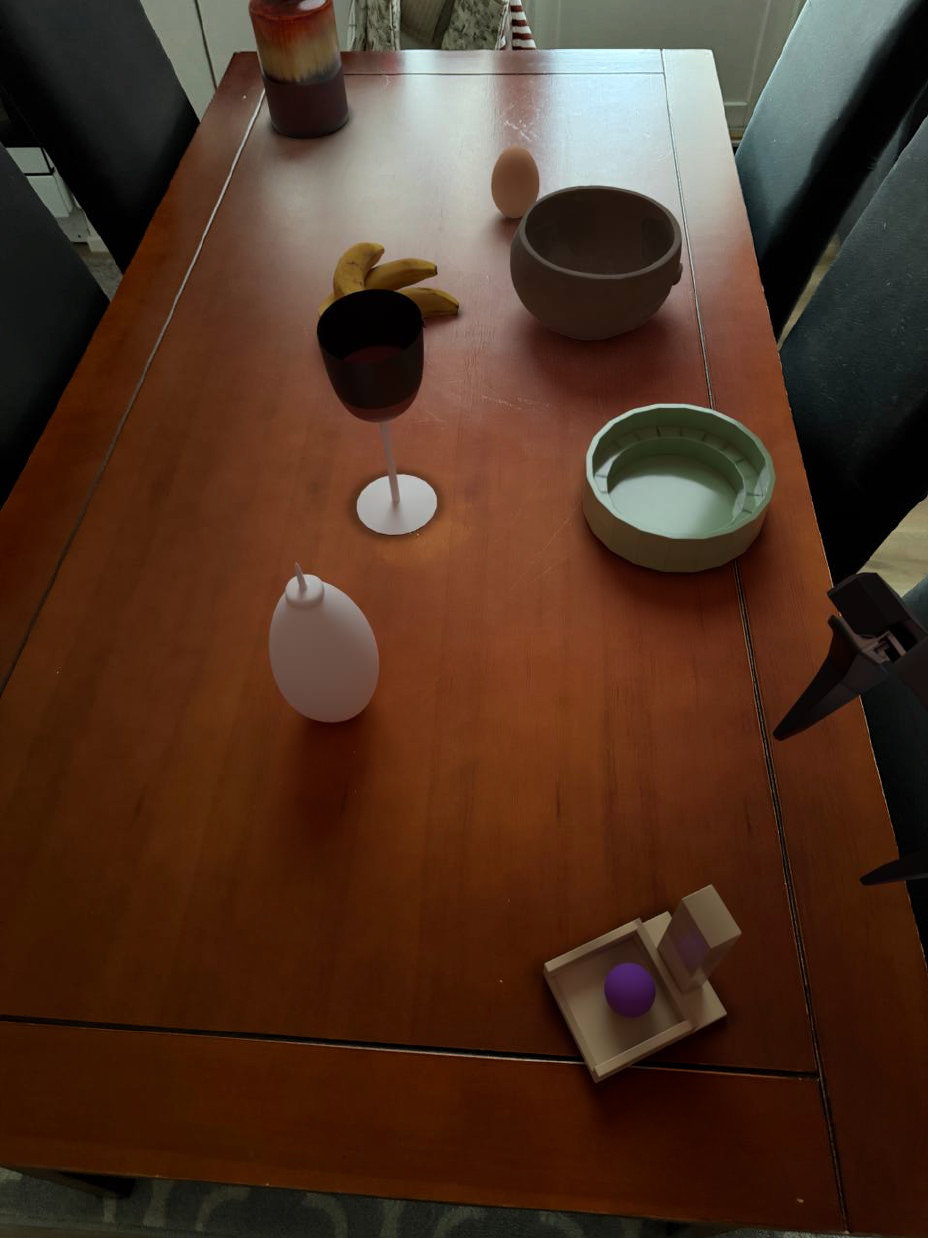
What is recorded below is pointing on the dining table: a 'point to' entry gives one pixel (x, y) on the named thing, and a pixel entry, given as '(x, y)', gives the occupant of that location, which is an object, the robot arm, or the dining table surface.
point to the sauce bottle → (322, 650)
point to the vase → (300, 65)
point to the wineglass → (379, 392)
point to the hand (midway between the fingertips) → (817, 806)
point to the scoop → (677, 966)
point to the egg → (515, 182)
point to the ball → (629, 990)
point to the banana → (388, 279)
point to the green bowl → (677, 487)
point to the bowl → (595, 260)
